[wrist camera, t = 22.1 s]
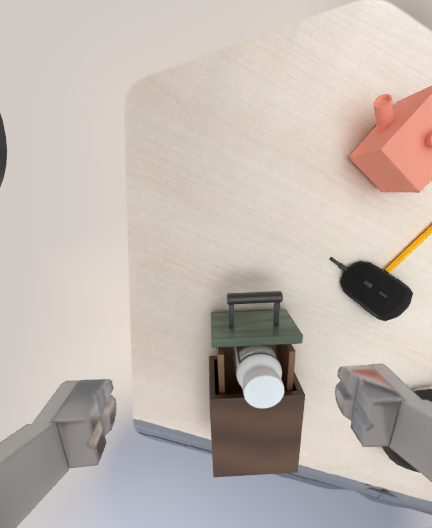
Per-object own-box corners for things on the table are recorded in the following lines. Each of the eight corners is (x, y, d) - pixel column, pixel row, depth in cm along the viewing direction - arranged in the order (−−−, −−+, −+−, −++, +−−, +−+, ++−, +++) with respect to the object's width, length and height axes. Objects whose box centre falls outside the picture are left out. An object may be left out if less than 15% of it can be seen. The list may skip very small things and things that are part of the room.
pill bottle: (262, 359, 38) (281, 415, 28) (227, 353, 37) (233, 408, 28) (273, 328, 36) (296, 376, 27) (236, 321, 36) (246, 368, 26)
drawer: (209, 282, 35) (210, 303, 29) (288, 279, 35) (305, 299, 29) (214, 385, 40) (215, 422, 34) (281, 381, 41) (295, 418, 34)
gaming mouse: (344, 240, 35) (361, 246, 31) (413, 293, 38) (437, 305, 34) (315, 274, 36) (328, 284, 32) (384, 323, 39) (403, 337, 35)
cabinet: (209, 356, 40) (209, 399, 32) (285, 352, 40) (305, 395, 32) (212, 423, 44) (213, 477, 36) (281, 420, 44) (297, 472, 36)
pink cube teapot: (373, 85, 29) (434, 46, 21) (432, 153, 32) (507, 141, 24) (326, 140, 31) (367, 123, 23) (386, 201, 33) (441, 205, 25)
